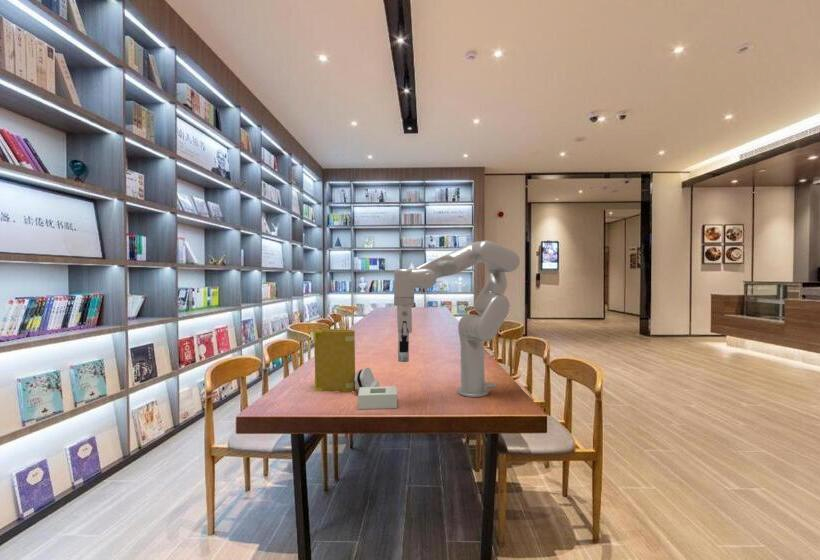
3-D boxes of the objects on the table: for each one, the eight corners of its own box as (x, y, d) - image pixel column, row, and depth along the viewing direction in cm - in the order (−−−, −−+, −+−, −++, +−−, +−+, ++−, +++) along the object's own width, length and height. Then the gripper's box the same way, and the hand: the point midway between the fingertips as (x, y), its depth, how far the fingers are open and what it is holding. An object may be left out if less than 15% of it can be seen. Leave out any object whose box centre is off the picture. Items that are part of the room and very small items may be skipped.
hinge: (371, 396, 150) (363, 372, 150) (360, 400, 150) (352, 376, 151) (379, 384, 166) (371, 363, 167) (369, 387, 167) (361, 366, 167)
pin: (408, 359, 144) (409, 328, 143) (409, 362, 139) (410, 329, 139) (397, 359, 143) (397, 328, 143) (397, 362, 139) (398, 329, 139)
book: (314, 390, 159) (313, 330, 159) (323, 385, 166) (322, 328, 165) (350, 393, 154) (349, 332, 154) (358, 388, 160) (357, 329, 160)
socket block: (396, 399, 146) (396, 386, 146) (397, 408, 136) (397, 394, 136) (360, 400, 146) (360, 387, 146) (358, 409, 136) (358, 395, 136)
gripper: (416, 303, 133) (415, 355, 133) (412, 300, 150) (411, 346, 150) (394, 303, 132) (394, 355, 133) (393, 300, 149) (392, 347, 149)
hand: (403, 350), depth 141 cm, fingers closed on pin, 4 cm apart
